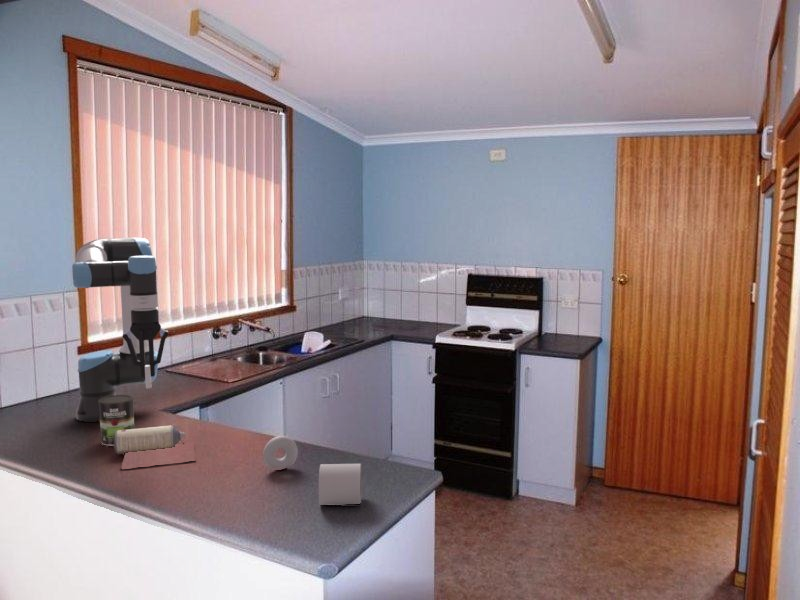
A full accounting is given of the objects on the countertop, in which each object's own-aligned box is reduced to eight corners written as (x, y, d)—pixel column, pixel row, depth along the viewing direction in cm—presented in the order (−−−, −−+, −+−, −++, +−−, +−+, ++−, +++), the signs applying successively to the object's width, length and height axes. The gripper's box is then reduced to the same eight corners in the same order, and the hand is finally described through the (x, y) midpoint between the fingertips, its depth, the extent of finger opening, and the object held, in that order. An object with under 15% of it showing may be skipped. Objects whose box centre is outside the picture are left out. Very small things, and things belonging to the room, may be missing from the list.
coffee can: (133, 445, 207) (131, 401, 205) (98, 448, 204) (95, 404, 202) (137, 434, 217) (135, 393, 215) (103, 437, 214) (101, 396, 212)
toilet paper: (361, 494, 169) (361, 457, 168) (360, 512, 159) (359, 472, 158) (322, 495, 168) (321, 458, 167) (319, 512, 159) (318, 473, 157)
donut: (296, 465, 189) (295, 431, 188) (299, 469, 186) (298, 435, 185) (262, 471, 185) (260, 437, 184) (265, 475, 182) (264, 440, 181)
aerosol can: (117, 449, 201) (185, 442, 207) (114, 457, 194) (185, 449, 201) (115, 427, 200) (184, 421, 206) (113, 434, 194) (184, 427, 200)
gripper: (119, 311, 185) (124, 392, 188) (168, 309, 189) (171, 388, 192) (121, 308, 192) (126, 385, 195) (168, 306, 196) (172, 382, 199)
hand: (148, 387), depth 194 cm, fingers closed
